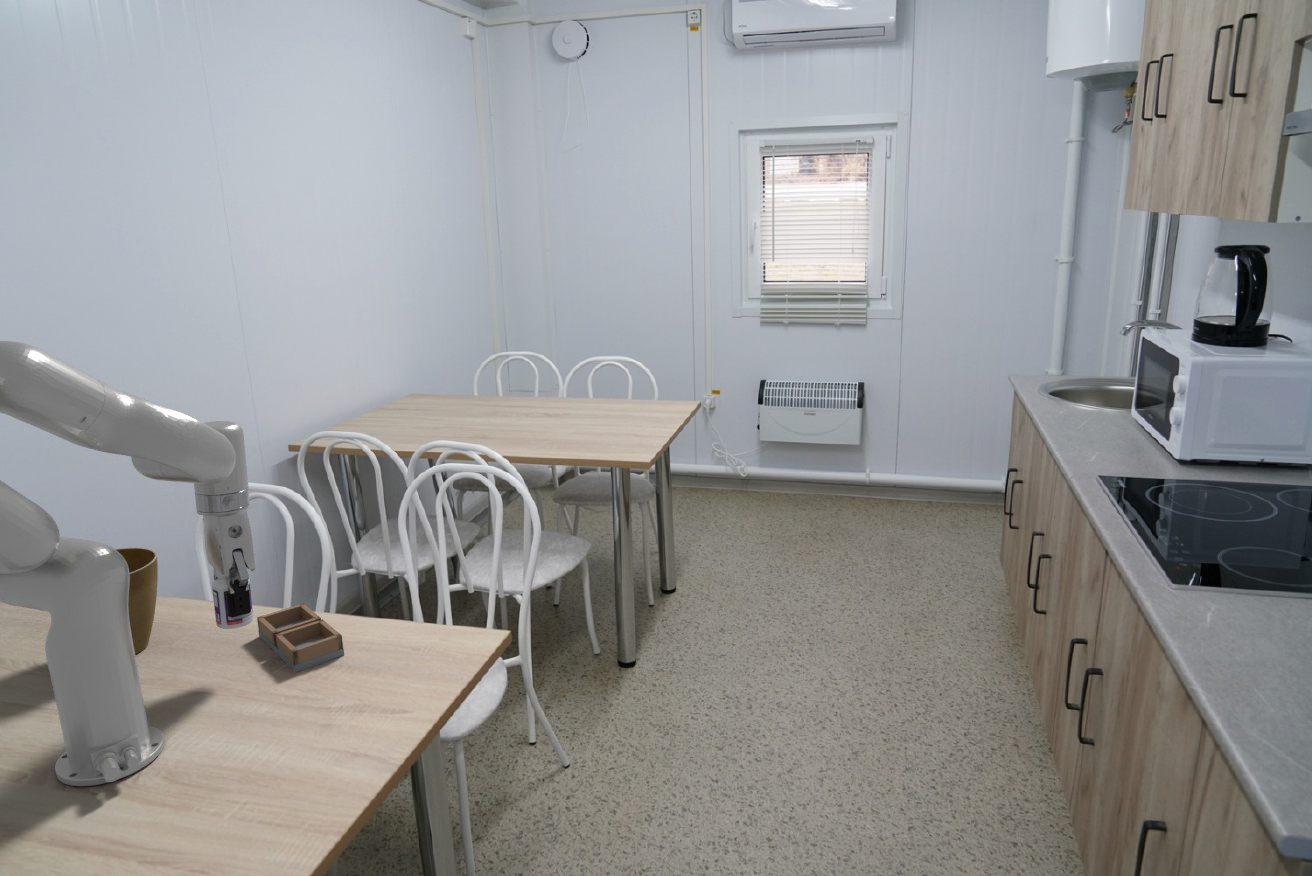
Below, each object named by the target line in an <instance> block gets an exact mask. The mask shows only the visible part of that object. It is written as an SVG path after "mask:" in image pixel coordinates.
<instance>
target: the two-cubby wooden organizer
mask: <svg viewBox="0 0 1312 876" xmlns="http://www.w3.org/2000/svg"><path fill="white" fill-rule="evenodd" d="M256 620H257V627H258V628H257V629H258V636H259V638H260V639H261V640H262V641H263V642H264V643H265V644H266V645H267V646H268V647H269V648H270V649H271V650H272V651H273V652H274V653H275V654H276V655H277V656H278V657H279V658H280V659H281V660H282V661H283V662H284V663H285V664H286V665H288V667H289V668H290V669H291V670H292V671H293V672H294V673H298V672H301V671H303V670H306V669H310V668H312V667H314V666H318V665H320V664H324V663H325V662H330V661H332V660H334V659H337V658H340V657H343V656H345V650H344V643H343V635H342V634H341V633H340V632H339V631H337V630H336V629H335V628H334V627H333V626H331V625H330V624H329V623H328V622H326V621H325V620H324V619H322V618H321V616H319V615H318V614H317V613H316V612H314V611H313V610H312V609H311V608H309V607H308V606H307V605H306V604H305V603H300V604H297V605H293V606H291V607H288V608H287V607H286V608H284V609H280V610H277V611H274V612H271V613H267V614H264V615H261V616H257V617H256Z"/></svg>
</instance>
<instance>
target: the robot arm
mask: <svg viewBox="0 0 1312 876" xmlns="http://www.w3.org/2000/svg"><path fill="white" fill-rule="evenodd" d="M0 413H1V414H3V415H7V416H10V417H11V418H14V419H16V420H19V421H21V422H23V423H26V424H28V425H30V426H33V427H35V428H37V429H40V430H42V431H44V432H47V433H49V434H52V435H53V436H56V437H58V438H60V439H62V440H65V441H67V442H70V443H71V444H73V445H76V446H80V447H82V448H87V449H89V450H93V451H98V452H101V453H107V454H112V455H113V454H115V455H121V456H127V457H131V459H130V460H131V462H132V465H133V467H134V468H135V470H136V471H137V472H138V473H139V474H141V475H142V476H144V477H146V478H149V479H152V480H156V481H165V482H175V483H177V482H178V483H188V484H189V483H190V484H193V488H194V497H195V498H194V499H195V509H196V514H197V515H200V516H202V521H203V535H204V547H205V555H206V559H207V562H208V564H209V565H210V566H211V567H212V568H213V580H214V581H215V580H216V579H218V577H216V570H217V571H218V572H219V573H221V574H222V575H224V576H226V581H227V586H228V591H229V593H226V596H227V606H228V615H229V617H231V618H233V617H237V616H241V615H245V614H248V613H250V612H251V606H250V595H249V585H248V580H250V574H249V572H248V570H249V571H251V572H253V571H255V570H256V569H257V559H256V552H255V545H254V539H253V532H252V527H251V523H250V522H251V521H250V518H249V515H248V514H249V513H248V510H249V509H250V508H251V501H250V491H249V480H248V469H247V468H248V467H247V459H246V458H247V457H246V456H247V455H246V446H245V434H244V429H243V428H242V425H240V424H239V423H237V422H235V421H231V420H230V421H229V420H228V421H227V420H224V421H223V420H219V421H217V420H216V421H207V422H206V421H205V422H202V421H200V420H199V419H196V418H194V417H192V416H189V415H187V414H185V413H182V412H180V411H177V410H174V409H171V408H169V407H166V406H163V405H160V404H157V403H155V402H152V401H149V400H147V399H145V398H142V397H139V396H137V395H135V394H131V393H127V392H125V391H121V390H119V389H117V388H114V387H113V386H111V385H108V384H106V383H105V382H103V381H101V380H100V379H97V378H96V377H93V376H91V375H89V374H88V373H86V372H83V371H82V370H80V369H78V368H76V367H75V366H73V365H70V364H68V363H66V362H64V361H63V360H61V359H59V358H57V357H55V356H53V355H52V354H50V353H48V352H46V351H44V350H42V349H40V348H38V347H35V346H32V345H31V344H27V343H25V342H18V341H10V340H0ZM232 569H236V572H235V573H231V572H229V570H232ZM235 576H237V579H236V580H234V582H233V583H232V577H235ZM214 581H213V582H214ZM129 584H130V574H129V568H128V565H127V562H126V560H125V559H124V557H123V556H122V555H121V554H120V553H119V552H118V551H117V550H115V548H114V547H112V546H109V545H107V544H105V543H102V542H99V541H95V540H89V539H83V538H73V537H67V536H65V537H63V536H61V533H60V530H59V527H58V524H57V522H56V521H55V519H54V518H53V517H52V516H51V514H50V513H48V512H47V511H46V510H45V509H44V508H43V507H41V506H40V505H39V504H37V503H36V502H34V501H32V500H31V499H29V498H28V497H26V496H25V495H23V494H22V493H20V492H19V491H17V490H16V489H14V488H13V487H12V486H10V485H8V484H7V483H5V482H4V481H2V480H1V479H0V603H2V604H5V605H9V606H14V607H18V608H25V609H32V610H37V611H41V612H46V613H49V615H50V618H51V620H50V625H49V628H48V631H47V635H46V638H45V643H44V644H45V646H44V647H45V648H44V649H45V650H44V652H45V659H46V663H47V668H48V671H49V675H50V681H51V685H52V690H53V694H54V699H55V703H56V709H57V714H58V719H59V723H60V727H61V733H62V736H63V737H62V738H63V741H64V746H65V747H64V748H65V751H64V752H62V754H60V756H59V757H58V759H57V761H56V762H55V767H54V772H55V774H56V778H57V779H58V781H60V782H61V783H63V784H64V785H68V786H74V787H89V786H90V787H91V786H99V785H102V784H107V783H113V782H116V781H118V780H120V779H123V778H125V777H128V776H130V775H132V774H135V773H136V772H138V771H140V770H141V769H143V768H144V767H146V766H147V765H149V764H150V763H152V762H153V761H154V760H155V759H156V758H157V757H158V756H159V755H160V754H161V752H162V750H163V749H164V746H165V739H164V738H165V737H164V733H163V732H162V730H160V729H159V728H158V727H156V726H154V725H149V723H148V718H147V713H146V712H147V711H146V706H145V702H144V695H143V689H142V684H141V679H140V674H139V669H138V663H137V657H136V654H135V651H134V645H133V640H132V634H131V628H130V621H129V609H128V597H129Z"/></svg>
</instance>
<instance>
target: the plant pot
mask: <svg viewBox="0 0 1312 876" xmlns="http://www.w3.org/2000/svg"><path fill="white" fill-rule="evenodd" d="M114 549H115V548H114ZM115 550H117V551H118V552H119V553H120V554H121V555H122V556H123V557H124V559H125V560H126V562H127V565H128V568H129V574H130V584H129V597H128V609H129V621H130V628H131V634H132V640H133V645H134V651H135V655H136V654H139V653H141V652H142V651H144V650H145V649H146V648H147V647H148V646H149V641H150V638H151V635H152V634H151V633H152V629H153V624H154V619H155V613H156V606H157V595H158V582H159V581H158V579H159V577H158V576H159V574H158V569H159V567H158V566H159V565H158V553H157V552H156V551H155V550H153V549H152V548H151V549H150V548H146V547H145V548H144V547H123V548H116V549H115Z"/></svg>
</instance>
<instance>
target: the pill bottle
mask: <svg viewBox="0 0 1312 876" xmlns="http://www.w3.org/2000/svg"><path fill="white" fill-rule="evenodd" d="M229 572H231V573H235V572H236V569H232V570H229ZM216 577H218V579H216V580H215V581H213V582H212V585H211V587H212V597H213V598H212V599H213V608H214V615H215V623H216V626H217V627H218V628H219V629H222V630H223V629H224V630H233V629H238V628H239V629H240V628H243V627H245V626H247V625H249V624H251V623H252V622H253V620H254V611H253V601H252V592H251V581H250V579H249V580H248V585H249V595H250V606H251V612H250V613H248V614H245V615H241V616H237V617H233V618H231V617H229V615H228V606H227V596H226V593H229V591H228V586H227V581H226V576H224V575H222V574H221V573H219V572H218V571H217V570H216ZM236 579H237V576H235V577H232V583H233V582H234V580H236Z"/></svg>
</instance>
